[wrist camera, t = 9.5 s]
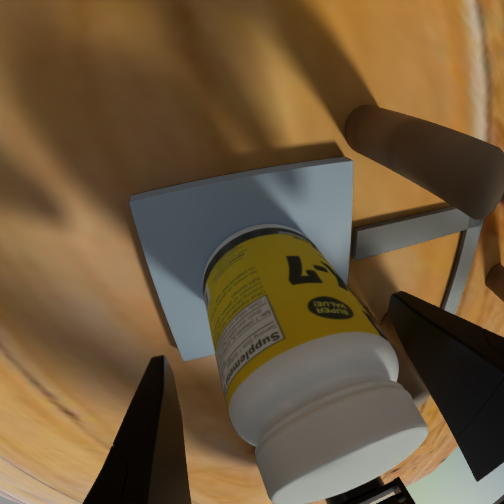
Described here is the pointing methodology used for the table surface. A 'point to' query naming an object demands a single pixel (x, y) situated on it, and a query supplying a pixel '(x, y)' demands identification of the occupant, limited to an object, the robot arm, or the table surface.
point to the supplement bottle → (304, 368)
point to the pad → (236, 230)
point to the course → (434, 222)
